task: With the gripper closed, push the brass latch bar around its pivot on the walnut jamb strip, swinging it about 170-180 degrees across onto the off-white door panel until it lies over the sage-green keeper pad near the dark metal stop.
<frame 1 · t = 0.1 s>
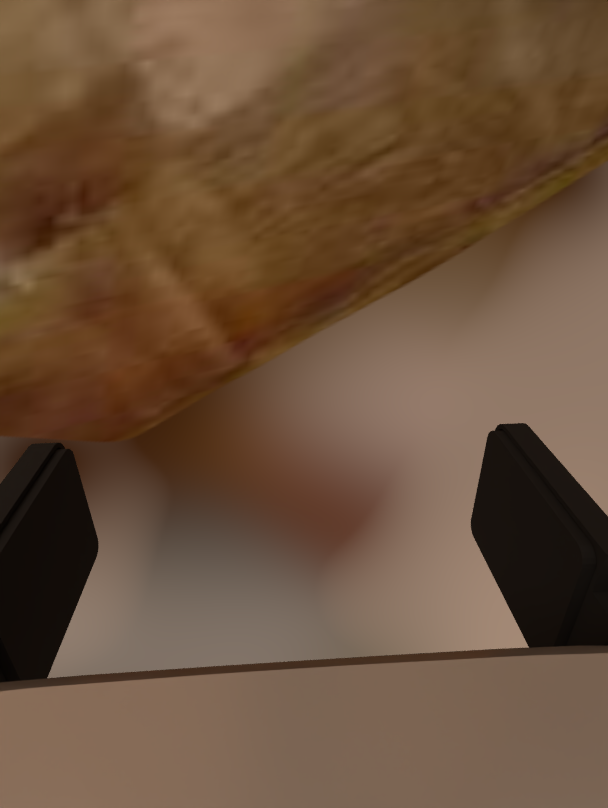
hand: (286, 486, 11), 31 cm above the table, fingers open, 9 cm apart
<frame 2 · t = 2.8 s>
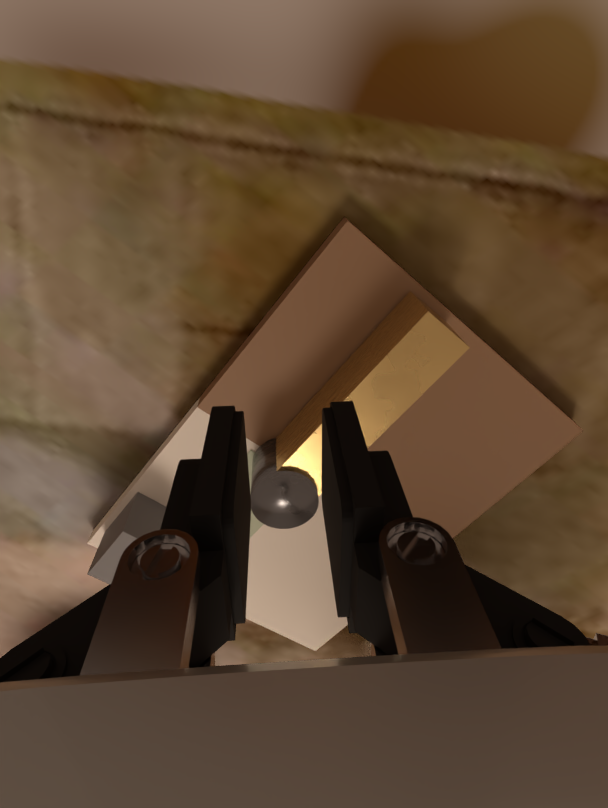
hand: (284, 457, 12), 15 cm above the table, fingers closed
door panel: (325, 477, 32), on the table
latch bar: (344, 419, 26), point 3 cm above the table, hinge at 0.0°
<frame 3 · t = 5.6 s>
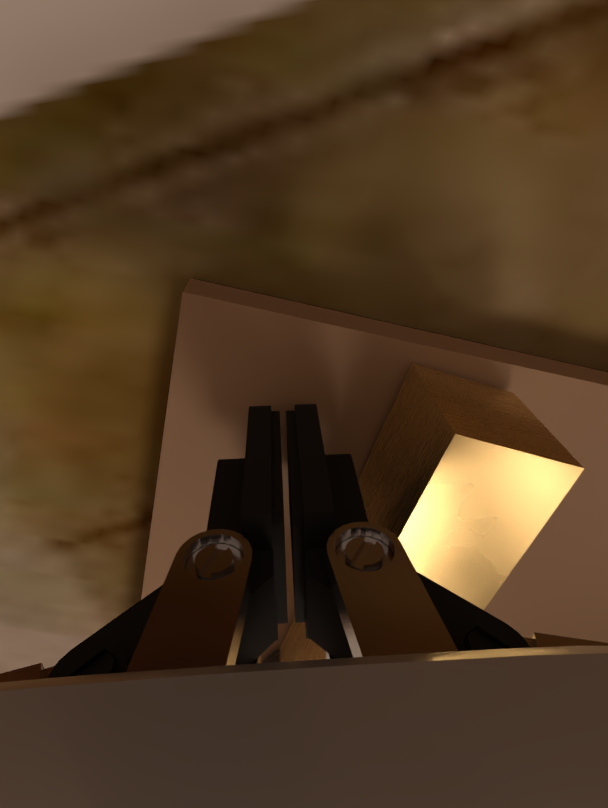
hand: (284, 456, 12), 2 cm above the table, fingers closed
door panel: (393, 649, 19), on the table
latch bar: (371, 625, 14), point 3 cm above the table, hinge at 4.4°, touching gripper
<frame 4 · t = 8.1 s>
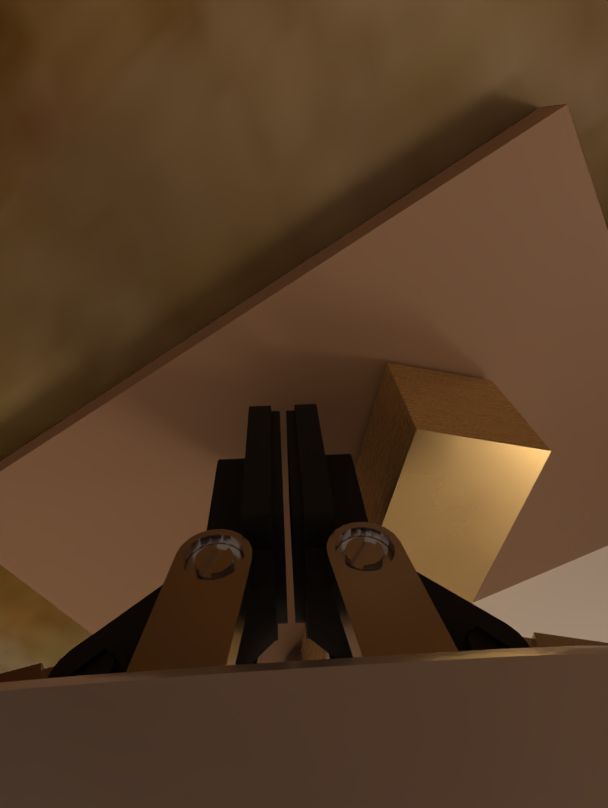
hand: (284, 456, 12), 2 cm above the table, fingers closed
door panel: (410, 597, 18), on the table
latch bar: (378, 615, 14), point 3 cm above the table, hinge at 44.0°, touching gripper
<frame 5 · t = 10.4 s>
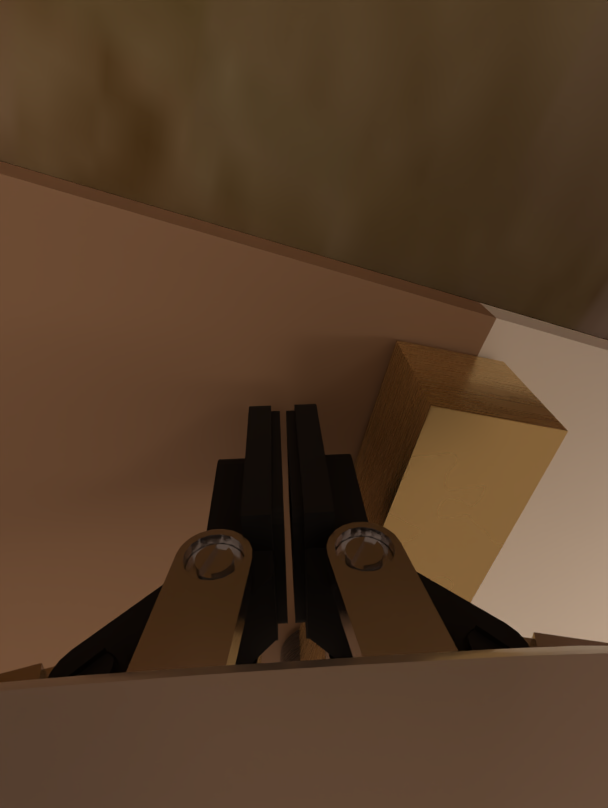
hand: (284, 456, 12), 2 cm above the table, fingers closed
door panel: (357, 555, 17), on the table
latch bar: (380, 600, 14), point 3 cm above the table, hinge at 86.2°, touching gripper
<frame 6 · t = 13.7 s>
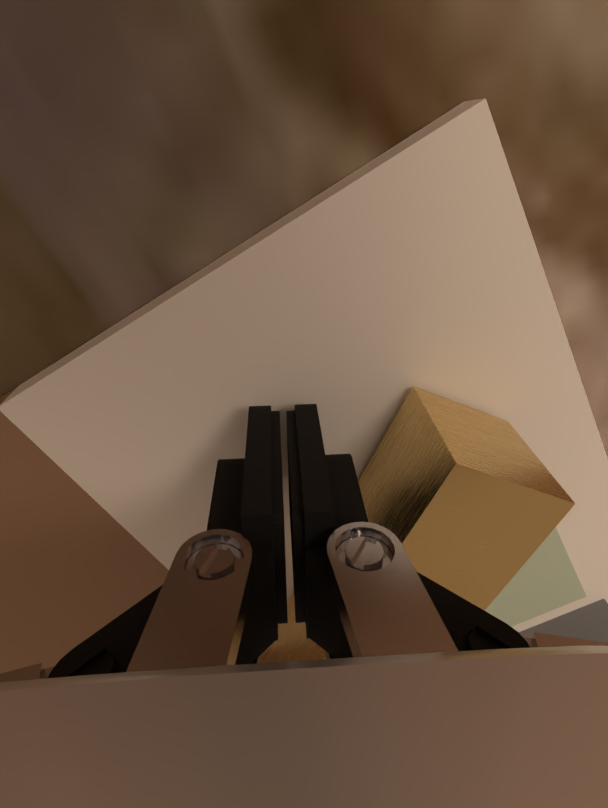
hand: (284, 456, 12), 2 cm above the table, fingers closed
door panel: (228, 593, 17), on the table
latch bar: (352, 639, 14), point 3 cm above the table, hinge at 143.4°, touching gripper
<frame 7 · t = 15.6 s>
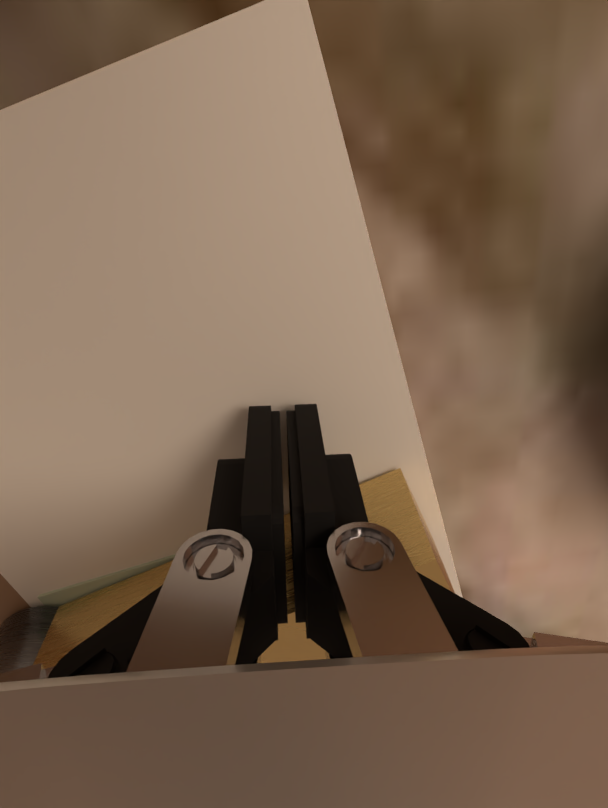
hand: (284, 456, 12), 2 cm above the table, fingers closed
door panel: (12, 535, 15), on the table
latch bar: (191, 644, 13), point 3 cm above the table, hinge at 173.3°, touching gripper
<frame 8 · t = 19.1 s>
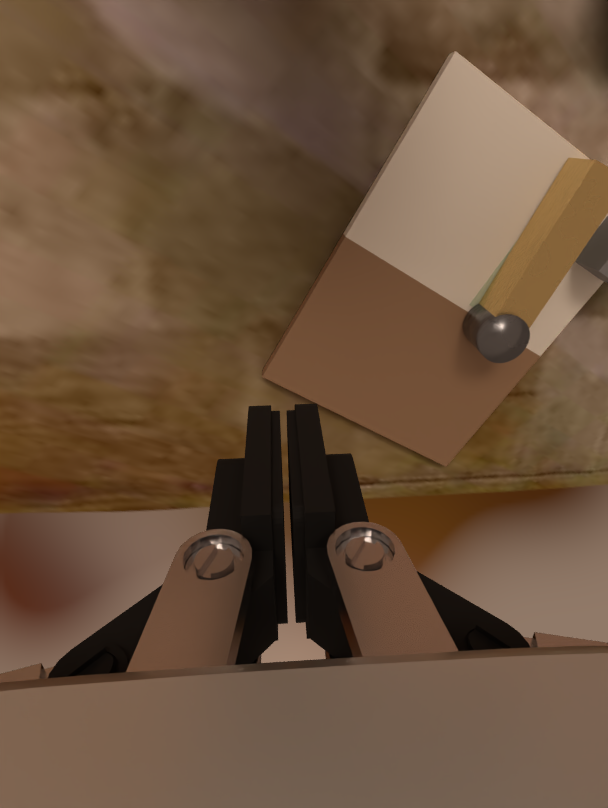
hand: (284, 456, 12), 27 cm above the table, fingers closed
door panel: (445, 296, 39), on the table
latch bar: (535, 267, 35), point 3 cm above the table, hinge at 173.6°
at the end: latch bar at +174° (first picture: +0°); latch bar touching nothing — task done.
